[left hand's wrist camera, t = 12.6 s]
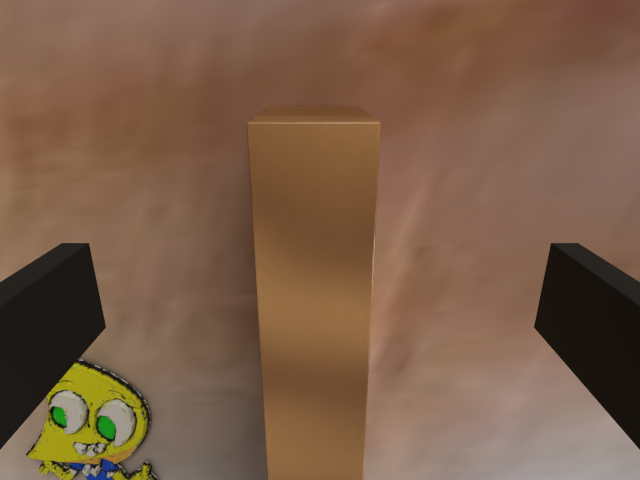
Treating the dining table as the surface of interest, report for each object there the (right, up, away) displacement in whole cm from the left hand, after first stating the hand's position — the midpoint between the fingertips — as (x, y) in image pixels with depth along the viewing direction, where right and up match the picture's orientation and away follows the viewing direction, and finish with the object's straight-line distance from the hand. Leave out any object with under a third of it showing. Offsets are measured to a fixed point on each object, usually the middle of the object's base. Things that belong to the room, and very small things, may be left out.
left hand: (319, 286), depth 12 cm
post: (0, -29, +26) cm, 39 cm away
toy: (-17, -14, +20) cm, 29 cm away
